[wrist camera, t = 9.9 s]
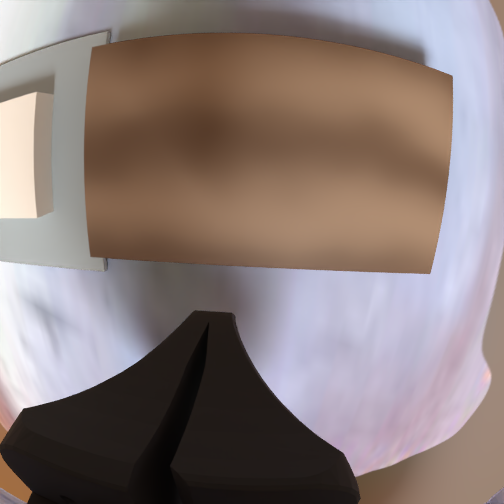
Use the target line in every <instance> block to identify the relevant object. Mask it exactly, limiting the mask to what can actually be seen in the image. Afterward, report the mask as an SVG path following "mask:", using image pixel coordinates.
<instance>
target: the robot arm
mask: <svg viewBox="0 0 504 504" xmlns="http://www.w3.org/2000/svg"><path fill="white" fill-rule="evenodd" d="M0 453H1V455H2V457H3V459H4V461H5V462H6V463H7V465H8V466H9V467H10V468H11V469H12V471H13V472H14V473H15V474H16V475H17V476H18V477H19V478H20V479H21V480H22V481H23V482H24V483H25V484H26V486H28V487H29V488H30V490H31V491H32V494H31V496H30V498H29V500H28V503H25V502H24V501H22V500H20V499H18V498H16V497H15V496H13V495H11V494H10V493H8V492H6V491H5V490H3V489H1V488H0V504H358V502H359V500H360V494H359V488H358V484H357V481H356V479H355V476H354V474H353V472H352V469H351V467H350V465H349V463H348V461H347V459H346V457H345V455H344V453H342V452H341V451H339V450H338V449H336V448H335V447H333V446H332V445H330V444H329V443H327V442H326V441H324V440H323V439H322V438H320V437H319V436H317V435H316V434H315V433H314V432H312V431H311V430H310V429H309V428H308V427H306V426H305V425H304V424H303V423H302V422H300V421H299V420H298V419H297V418H296V417H295V416H294V415H293V414H292V413H291V412H290V411H289V410H288V409H287V408H286V407H285V406H284V405H283V404H282V403H281V402H280V401H279V399H278V398H277V397H276V396H275V395H274V393H273V392H272V391H271V390H270V388H269V387H268V386H267V384H266V383H265V382H264V380H263V379H262V378H261V376H260V375H259V373H258V371H257V370H256V368H255V367H254V365H253V363H252V361H251V360H250V358H249V356H248V354H247V352H246V350H245V348H244V345H243V343H242V341H241V338H240V336H239V333H238V330H237V326H236V322H235V315H234V314H233V313H226V312H210V311H196V310H195V311H194V312H192V313H191V314H190V315H189V316H188V317H187V318H186V320H185V321H184V322H183V323H182V324H181V325H180V326H179V327H178V328H177V329H176V330H175V331H174V332H173V333H171V334H170V335H169V336H168V337H167V338H166V339H165V340H164V341H163V342H162V343H161V344H160V345H158V346H157V347H156V348H155V349H153V350H152V351H151V352H150V353H149V354H147V355H146V356H145V357H144V358H142V359H141V360H140V361H138V362H137V363H135V364H134V365H132V366H131V367H129V368H128V369H126V370H124V371H123V372H121V373H119V374H118V375H116V376H114V377H112V378H110V379H108V380H106V381H104V382H102V383H100V384H98V385H96V386H94V387H92V388H90V389H87V390H85V391H83V392H80V393H78V394H75V395H72V396H69V397H66V398H63V399H60V400H57V401H54V402H50V403H46V404H42V405H38V406H34V407H29V408H24V409H23V410H22V412H21V413H20V414H19V416H18V417H17V419H16V420H15V422H14V423H13V425H12V427H11V428H10V430H9V431H8V433H7V434H6V436H5V438H4V439H3V441H2V442H1V444H0ZM484 504H504V488H502V489H501V490H499V491H498V492H497V493H496V494H495V495H494V496H492V497H491V498H490V499H489V501H488V502H486V503H484Z"/></svg>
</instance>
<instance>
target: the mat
mask: <svg viewBox="0 0 504 504" xmlns="http://www.w3.org/2000/svg"><path fill="white" fill-rule="evenodd" d="M110 35H111V33H110V32H108V31H106V32H102V33H97V34H93V35H89V36H85V37H81V38H77V39H73V40H70V41H66V42H63V43H59V44H56V45H53V46H50V47H47V48H44V49H41V50H38V51H35V52H33V53H30V54H27V55H25V56H22V57H19V58H17V59H15V60H12V61H10V62H7V63H5V64H3V65H1V66H0V103H2V102H5V101H8V100H11V99H14V98H17V97H20V96H24V95H27V94H31V93H34V92H41V93H47V94H53V95H54V100H53V114H52V138H51V169H52V193H53V207H54V211H53V212H50V213H48V214H46V215H43V216H41V217H39V218H0V261H3V262H12V263H21V264H30V265H39V266H49V267H59V268H69V269H80V270H91V271H102V272H105V271H106V270H107V269H108V268H107V260H106V258H97V257H90V250H89V242H88V232H87V220H86V206H85V187H84V126H85V107H86V94H87V83H88V74H89V65H90V58H91V51H92V47H95V46H100V45H105V44H109V42H110Z"/></svg>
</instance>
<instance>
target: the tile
mask: <svg viewBox="0 0 504 504" xmlns="http://www.w3.org/2000/svg"><path fill="white" fill-rule="evenodd" d="M53 100H54V95H53V94H47V93H41V92H34V93H31V94H27V95H24V96H20V97H17V98H14V99H11V100H8V101H5V102H2V103H0V218H39V217H41V216H43V215H46V214H48V213H50V212H53V211H54V207H53V193H52V169H51V138H52V114H53Z"/></svg>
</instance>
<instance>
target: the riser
mask: <svg viewBox="0 0 504 504" xmlns="http://www.w3.org/2000/svg"><path fill="white" fill-rule="evenodd" d="M452 122H453V76H452V75H449V74H447V73H444V72H441V71H439V70H436V69H433V68H430V67H427V66H424V65H422V64H419V63H415V62H412V61H409V60H406V59H403V58H399V57H396V56H392V55H388V54H385V53H381V52H377V51H373V50H369V49H364V48H360V47H355V46H350V45H345V44H340V43H335V42H329V41H323V40H316V39H309V38H301V37H293V36H283V35H271V34H254V33H195V34H178V35H166V36H157V37H148V38H140V39H133V40H127V41H121V42H115V43H110V44H105V45H100V46H95V47H92V51H91V58H90V65H89V74H88V83H87V94H86V107H85V126H84V187H85V206H86V220H87V232H88V242H89V250H90V257H97V258H111V259H126V260H142V261H158V262H174V263H191V264H209V265H227V266H246V267H266V268H288V269H310V270H333V271H359V272H387V273H418V274H430V272H431V269H432V264H433V260H434V256H435V252H436V247H437V242H438V238H439V233H440V227H441V222H442V216H443V211H444V204H445V198H446V191H447V183H448V175H449V166H450V155H451V142H452Z"/></svg>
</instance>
